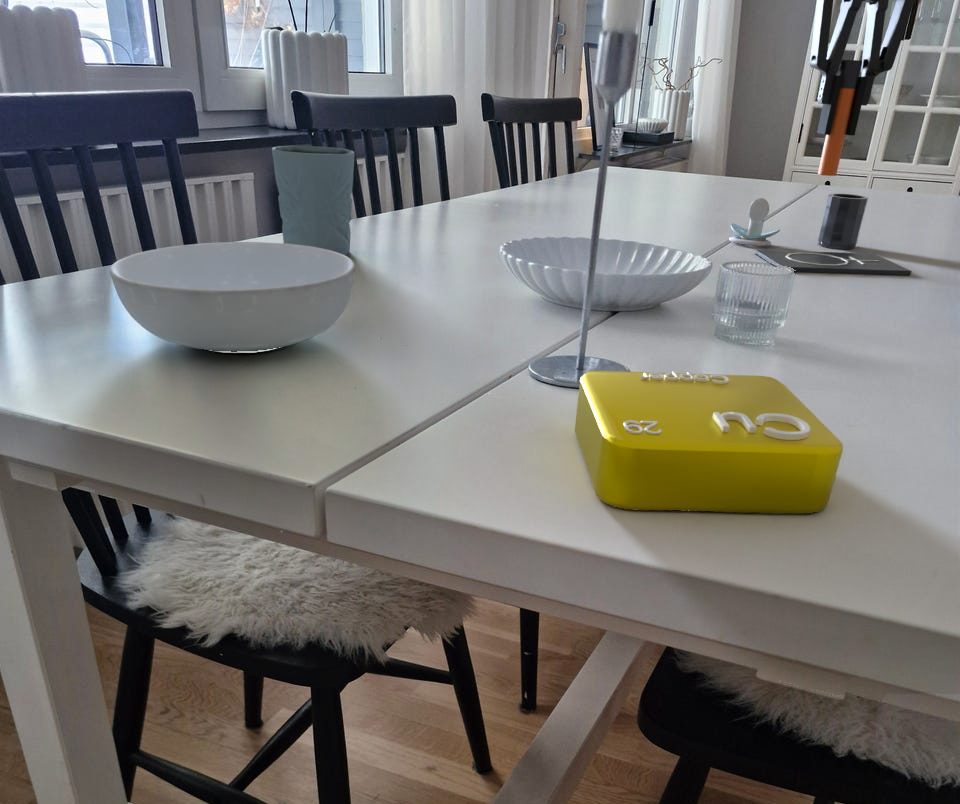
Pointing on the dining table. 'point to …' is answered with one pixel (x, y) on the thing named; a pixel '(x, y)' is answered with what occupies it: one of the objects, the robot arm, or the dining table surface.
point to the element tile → (703, 443)
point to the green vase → (315, 195)
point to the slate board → (833, 262)
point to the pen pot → (842, 221)
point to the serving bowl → (235, 293)
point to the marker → (840, 118)
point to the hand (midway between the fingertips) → (835, 133)
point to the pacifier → (754, 226)
